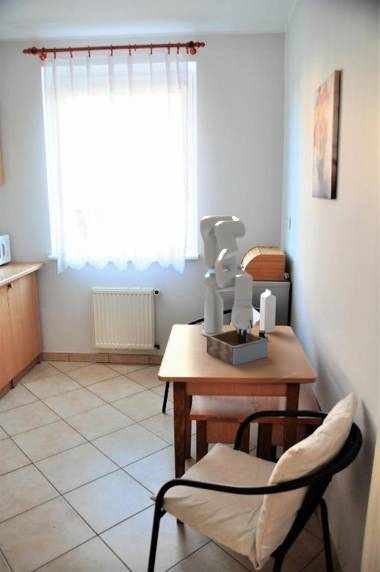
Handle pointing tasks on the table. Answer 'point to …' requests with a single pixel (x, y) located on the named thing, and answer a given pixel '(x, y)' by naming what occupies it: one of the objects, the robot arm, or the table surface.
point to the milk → (267, 311)
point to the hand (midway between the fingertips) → (242, 342)
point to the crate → (226, 344)
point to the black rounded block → (262, 334)
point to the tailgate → (249, 351)
